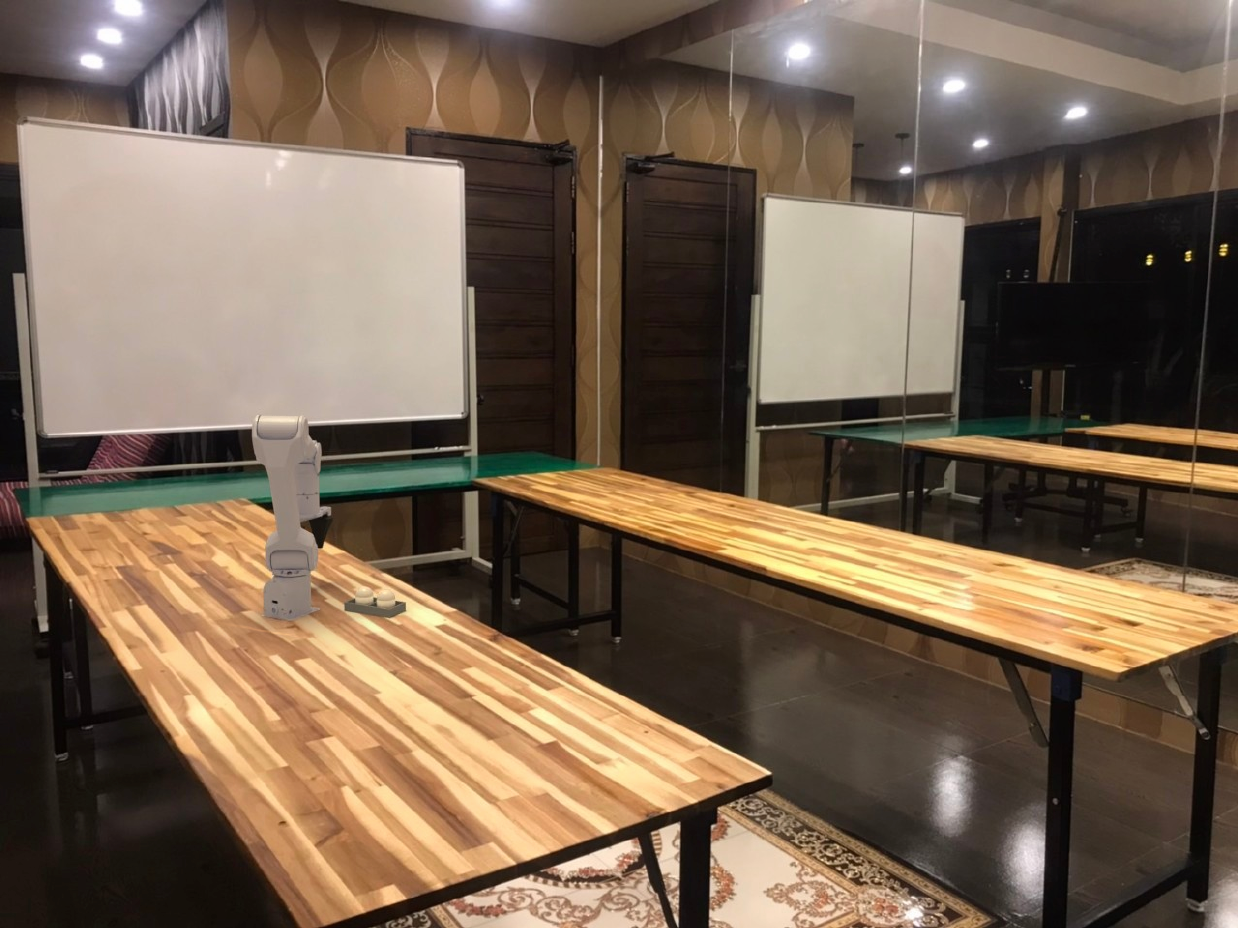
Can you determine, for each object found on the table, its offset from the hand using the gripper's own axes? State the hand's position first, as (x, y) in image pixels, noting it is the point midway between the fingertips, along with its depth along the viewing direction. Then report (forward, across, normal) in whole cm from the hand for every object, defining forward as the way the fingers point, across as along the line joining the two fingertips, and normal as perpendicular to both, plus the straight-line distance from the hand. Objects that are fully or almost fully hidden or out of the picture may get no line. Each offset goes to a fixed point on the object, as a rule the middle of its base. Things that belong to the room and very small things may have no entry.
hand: (307, 551), depth 213 cm
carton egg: (+9, -6, -20) cm, 23 cm away
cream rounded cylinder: (+9, -6, -26) cm, 28 cm away
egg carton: (+9, -6, -23) cm, 26 cm away
